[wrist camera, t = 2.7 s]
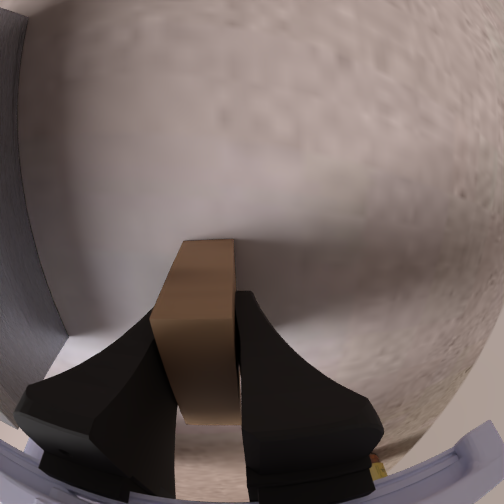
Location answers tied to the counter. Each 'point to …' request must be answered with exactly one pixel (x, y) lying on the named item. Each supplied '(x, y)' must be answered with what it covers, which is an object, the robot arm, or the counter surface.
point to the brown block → (201, 332)
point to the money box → (19, 250)
